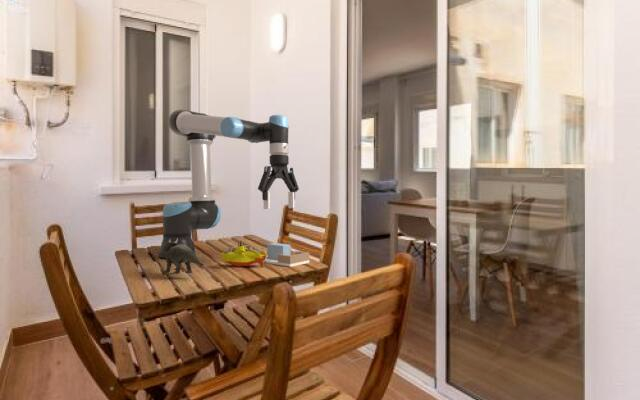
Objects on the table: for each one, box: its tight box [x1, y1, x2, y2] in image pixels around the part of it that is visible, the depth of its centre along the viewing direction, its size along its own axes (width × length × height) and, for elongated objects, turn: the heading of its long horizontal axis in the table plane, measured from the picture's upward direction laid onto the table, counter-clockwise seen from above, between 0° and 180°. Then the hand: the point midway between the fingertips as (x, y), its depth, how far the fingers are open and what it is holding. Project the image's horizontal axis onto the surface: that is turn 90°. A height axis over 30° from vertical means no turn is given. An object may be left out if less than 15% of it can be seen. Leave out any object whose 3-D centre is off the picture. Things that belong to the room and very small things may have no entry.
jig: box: [228, 244, 310, 268], centre depth 162 cm, size 37×11×4 cm, turn 52°
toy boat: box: [220, 240, 267, 268], centre depth 148 cm, size 6×18×10 cm, turn 78°
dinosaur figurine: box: [162, 238, 205, 275], centre depth 136 cm, size 22×8×11 cm, turn 48°
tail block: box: [266, 242, 292, 260], centre depth 158 cm, size 9×4×6 cm, turn 52°
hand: (279, 208), depth 152 cm, fingers open, 13 cm apart
